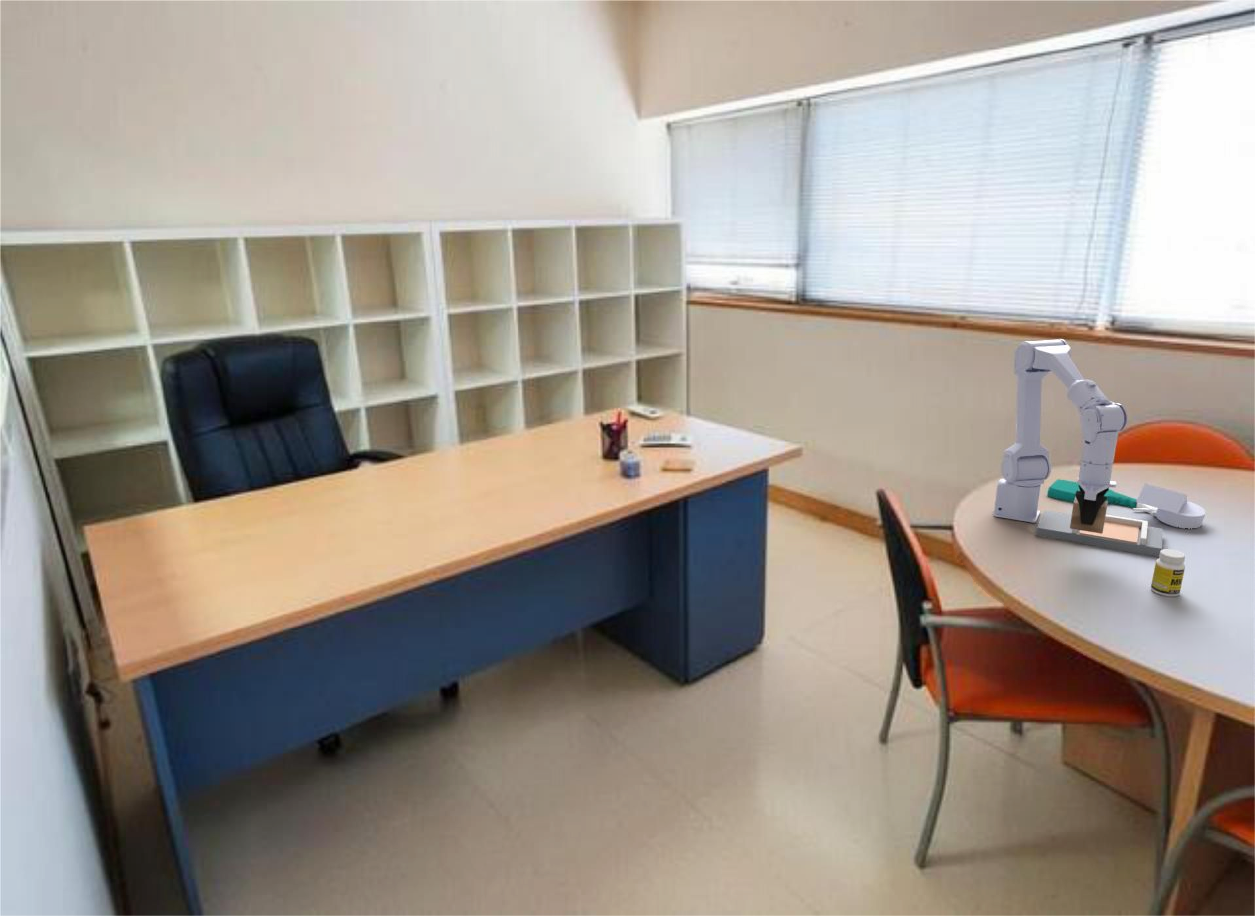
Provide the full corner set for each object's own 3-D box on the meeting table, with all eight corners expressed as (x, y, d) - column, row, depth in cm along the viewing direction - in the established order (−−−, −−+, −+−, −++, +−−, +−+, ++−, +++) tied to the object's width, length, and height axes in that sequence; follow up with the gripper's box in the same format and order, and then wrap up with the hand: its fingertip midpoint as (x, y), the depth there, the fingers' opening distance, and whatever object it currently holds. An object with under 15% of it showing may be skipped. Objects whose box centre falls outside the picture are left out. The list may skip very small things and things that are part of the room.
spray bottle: (1056, 487, 204) (1163, 508, 188) (1043, 498, 197) (1154, 522, 180) (1057, 477, 203) (1165, 497, 187) (1045, 488, 196) (1157, 511, 179)
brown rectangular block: (1069, 528, 161) (1073, 502, 159) (1071, 521, 164) (1075, 496, 162) (1102, 533, 158) (1106, 507, 156) (1103, 527, 161) (1107, 501, 159)
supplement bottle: (1170, 599, 145) (1178, 560, 142) (1145, 589, 149) (1152, 551, 146) (1184, 593, 147) (1192, 554, 144) (1159, 583, 151) (1166, 545, 148)
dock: (1036, 535, 175) (1037, 521, 174) (1043, 517, 184) (1044, 504, 183) (1160, 557, 162) (1163, 542, 161) (1161, 536, 171) (1163, 522, 170)
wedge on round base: (1132, 514, 181) (1196, 533, 172) (1139, 489, 178) (1205, 507, 169) (1142, 502, 186) (1204, 519, 178) (1149, 477, 184) (1213, 494, 175)
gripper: (1117, 474, 148) (1107, 536, 153) (1121, 453, 160) (1112, 512, 164) (1076, 468, 152) (1067, 529, 157) (1083, 449, 163) (1075, 506, 168)
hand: (1087, 520), depth 160 cm, fingers closed on brown rectangular block, 4 cm apart
